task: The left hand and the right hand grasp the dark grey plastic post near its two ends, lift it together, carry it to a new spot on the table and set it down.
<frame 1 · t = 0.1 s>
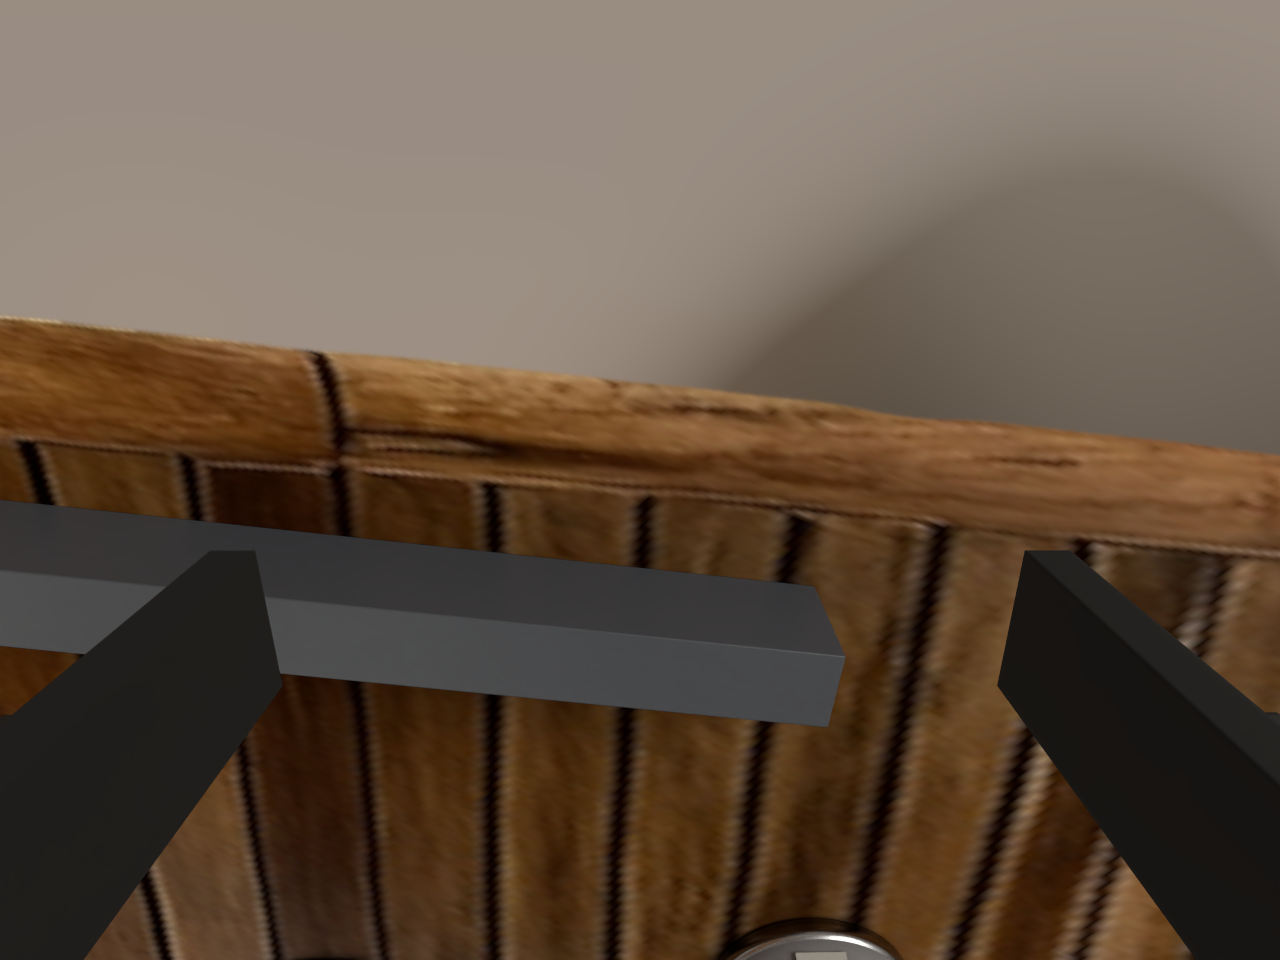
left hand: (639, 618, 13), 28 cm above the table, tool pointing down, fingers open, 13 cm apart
post: (141, 548, 43), on the table
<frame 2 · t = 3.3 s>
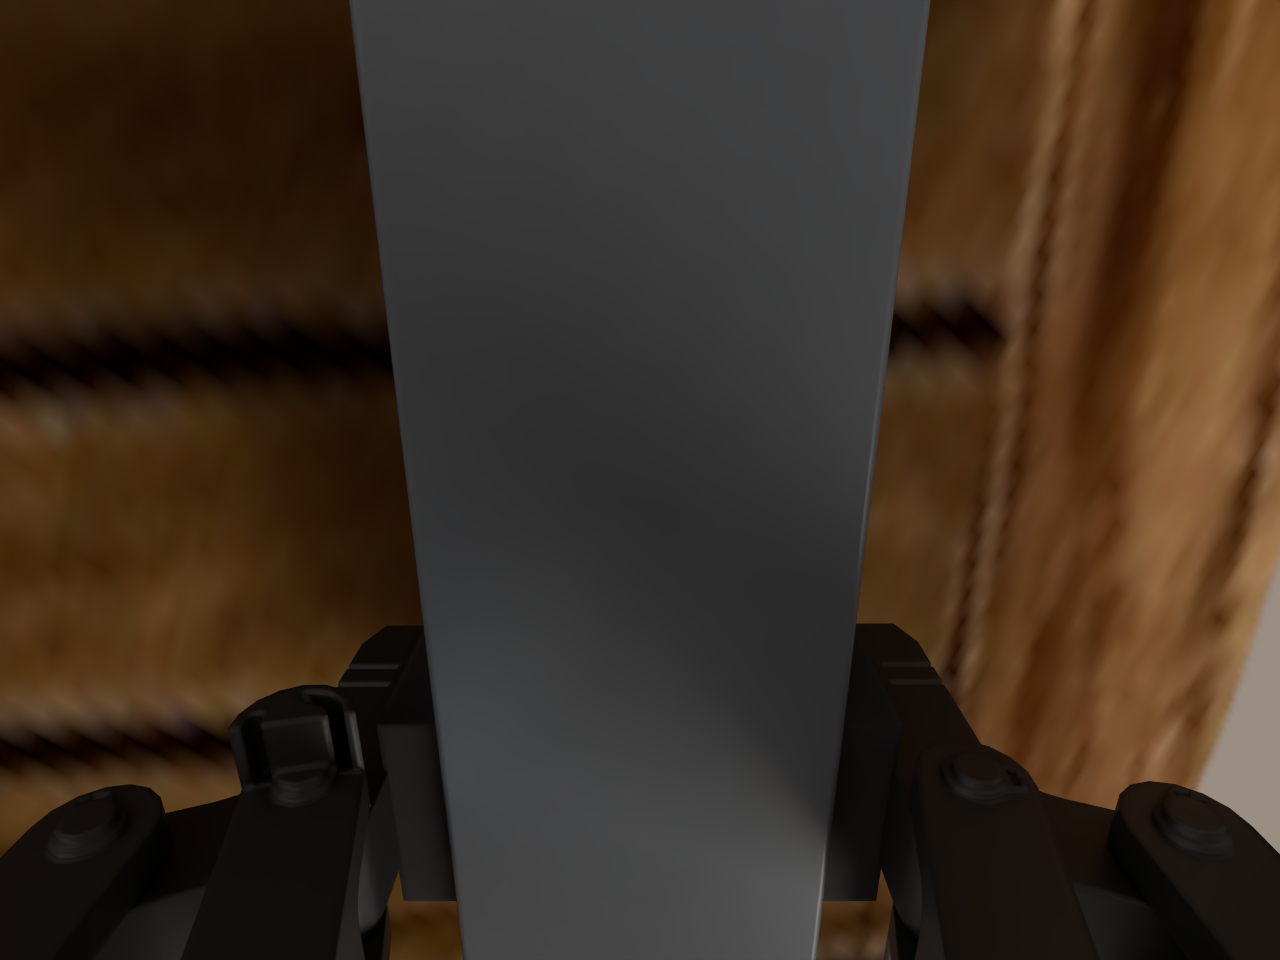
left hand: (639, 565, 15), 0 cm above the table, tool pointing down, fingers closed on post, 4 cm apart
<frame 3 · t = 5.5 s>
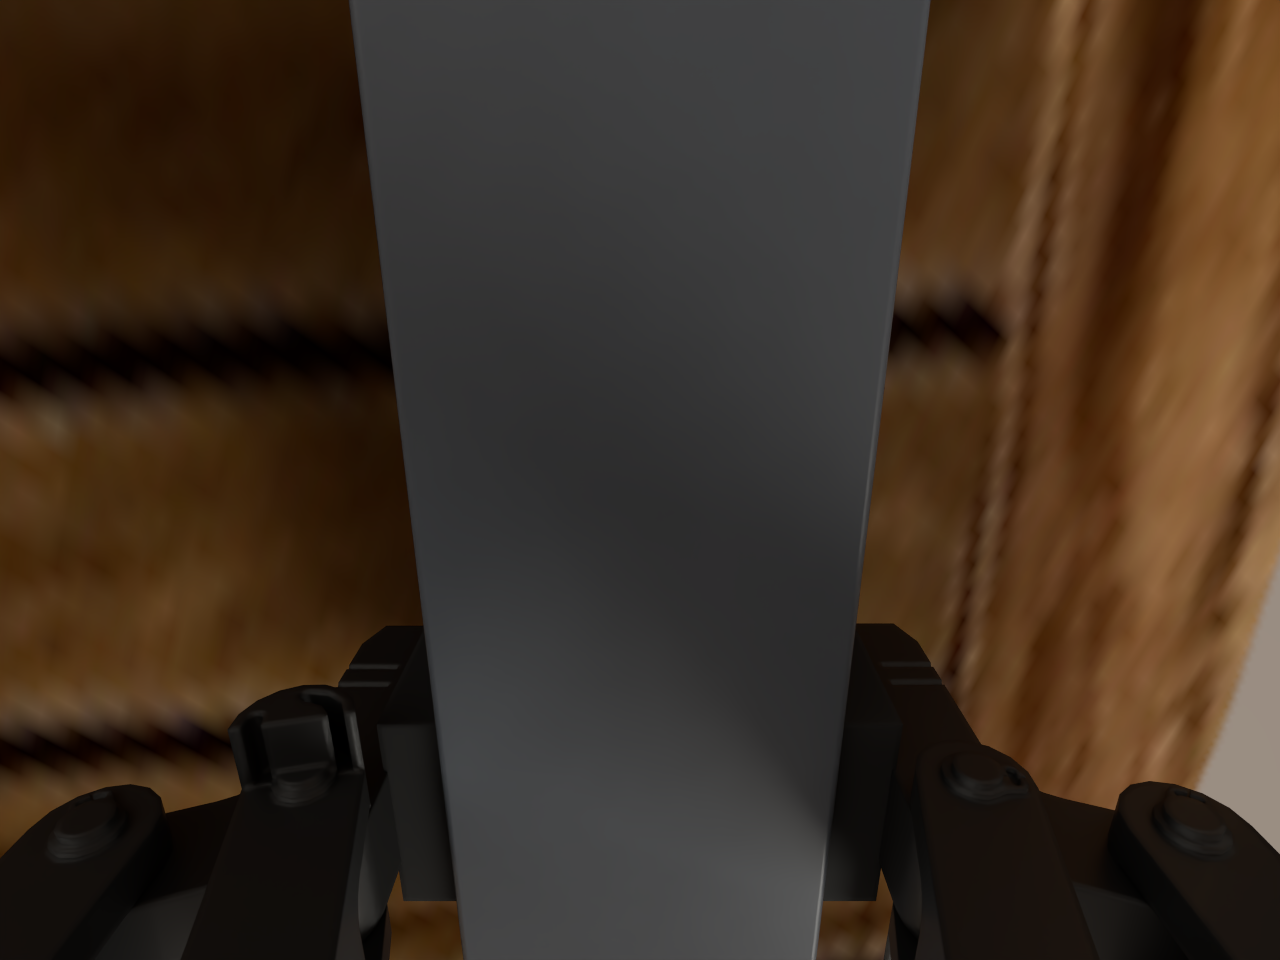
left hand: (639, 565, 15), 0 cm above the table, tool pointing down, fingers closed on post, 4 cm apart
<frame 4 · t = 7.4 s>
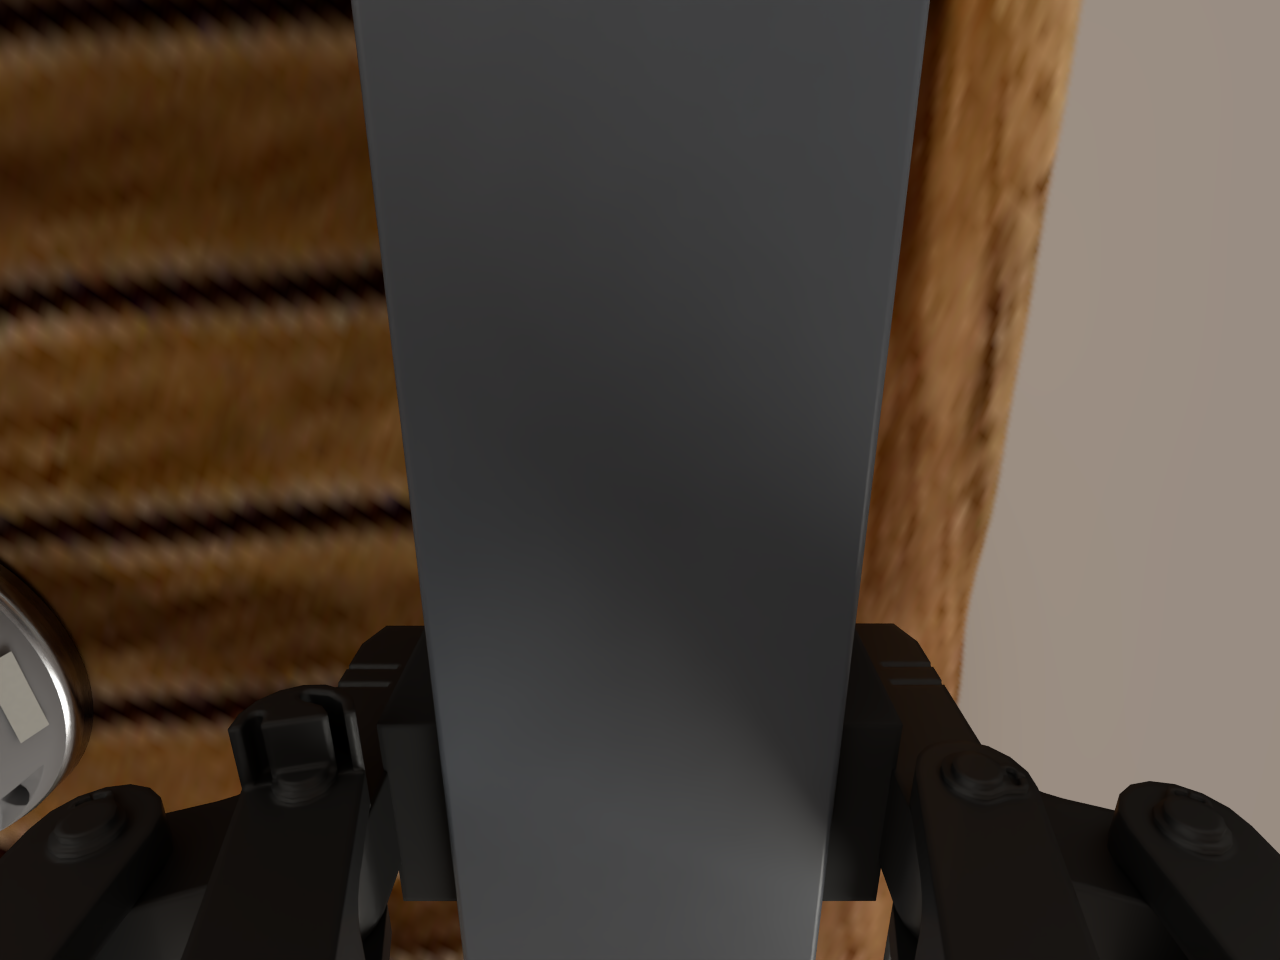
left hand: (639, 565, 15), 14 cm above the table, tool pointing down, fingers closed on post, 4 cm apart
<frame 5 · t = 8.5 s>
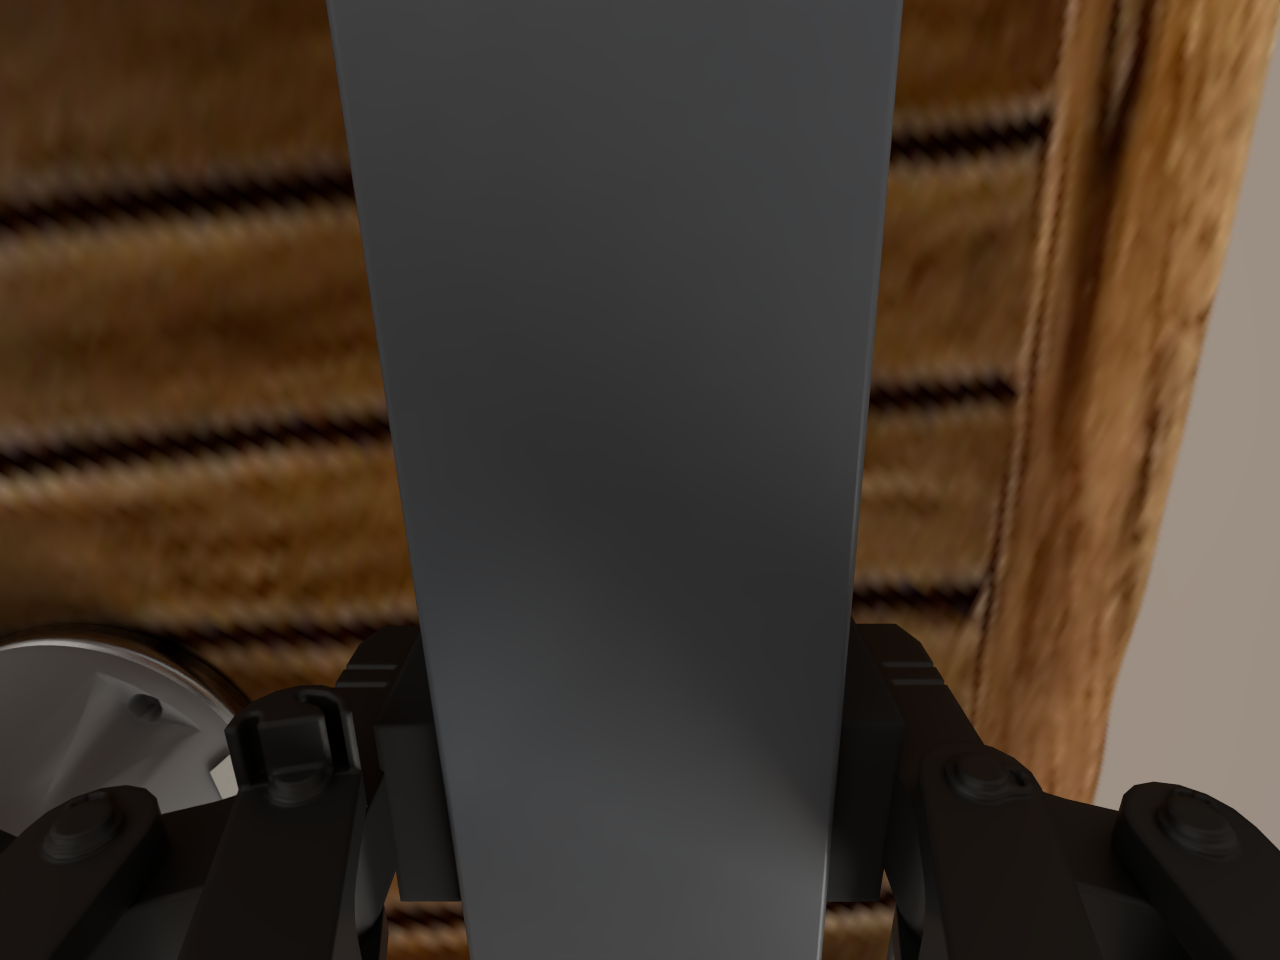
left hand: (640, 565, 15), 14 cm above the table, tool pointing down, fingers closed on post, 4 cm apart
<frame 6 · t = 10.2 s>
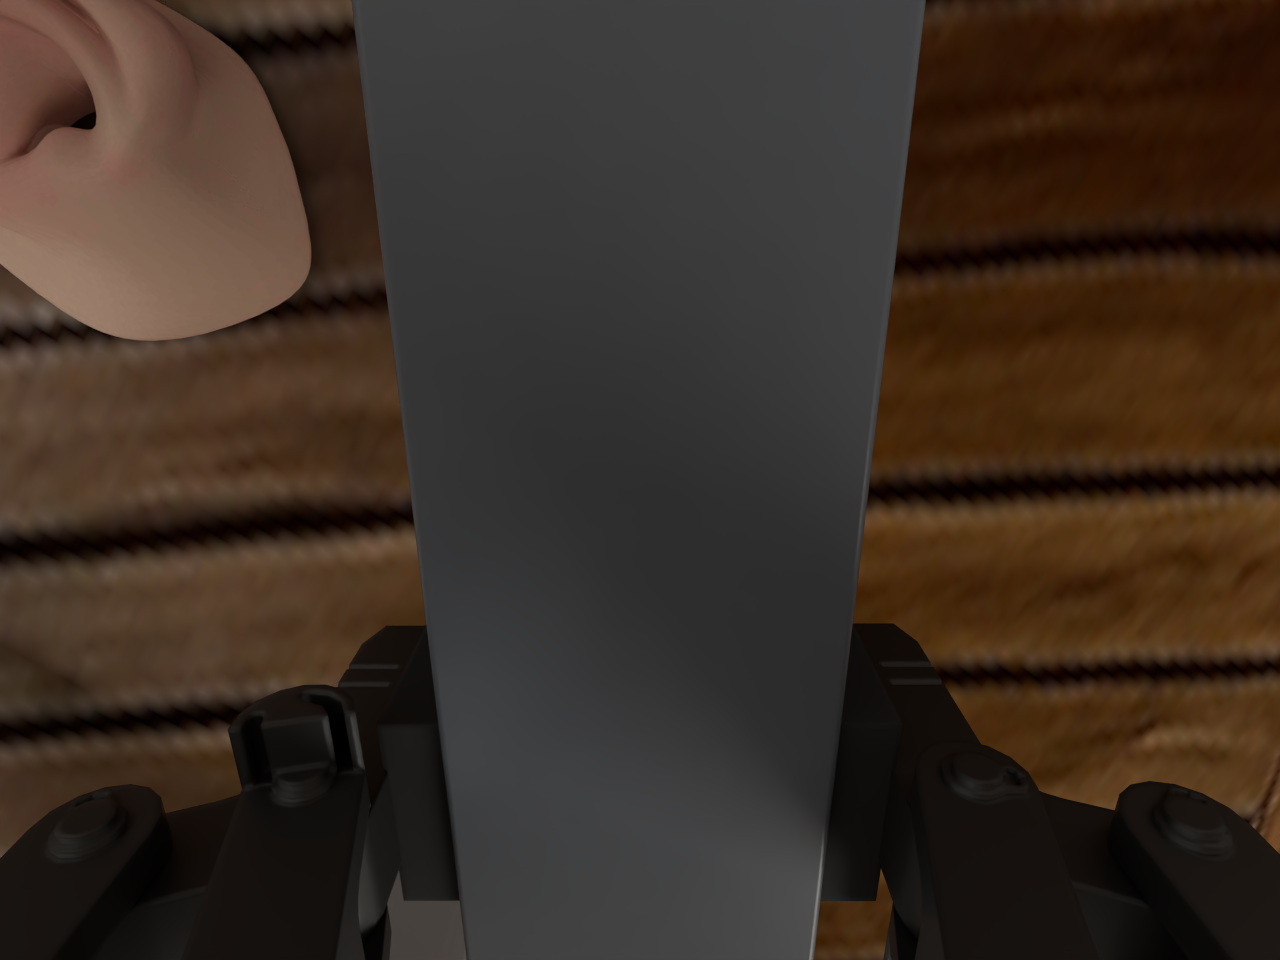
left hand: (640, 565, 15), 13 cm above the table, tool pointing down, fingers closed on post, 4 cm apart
anatomical model: (106, 155, 24), on the table
when the left hand's fingers open (2 cm above the table, at t = 11.5 s): post drops 1 cm, on the table.
when the right hand's fingers open (2 cm above the table, at t = 11.5 s): post drops 1 cm, on the table.
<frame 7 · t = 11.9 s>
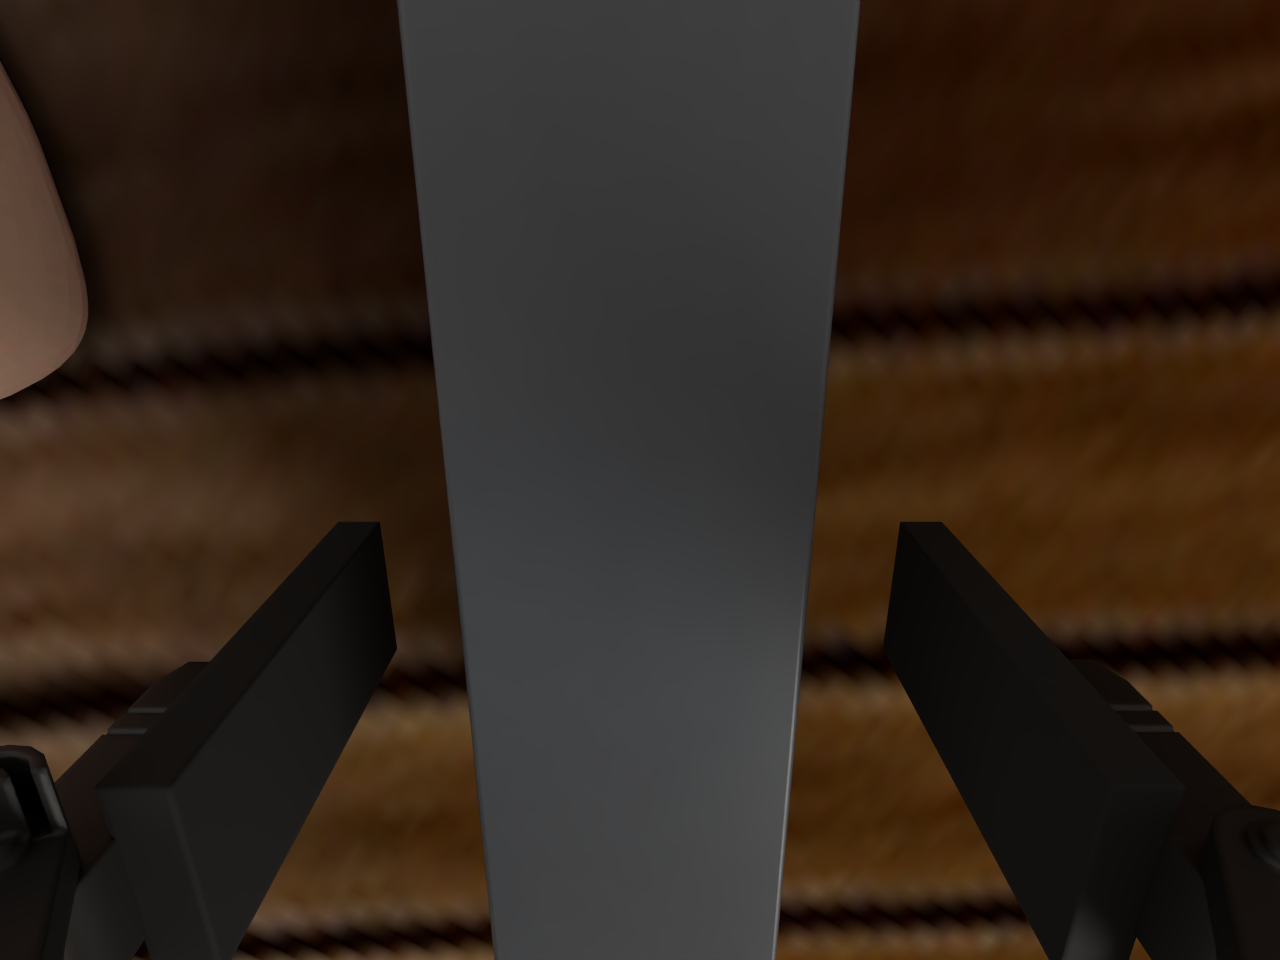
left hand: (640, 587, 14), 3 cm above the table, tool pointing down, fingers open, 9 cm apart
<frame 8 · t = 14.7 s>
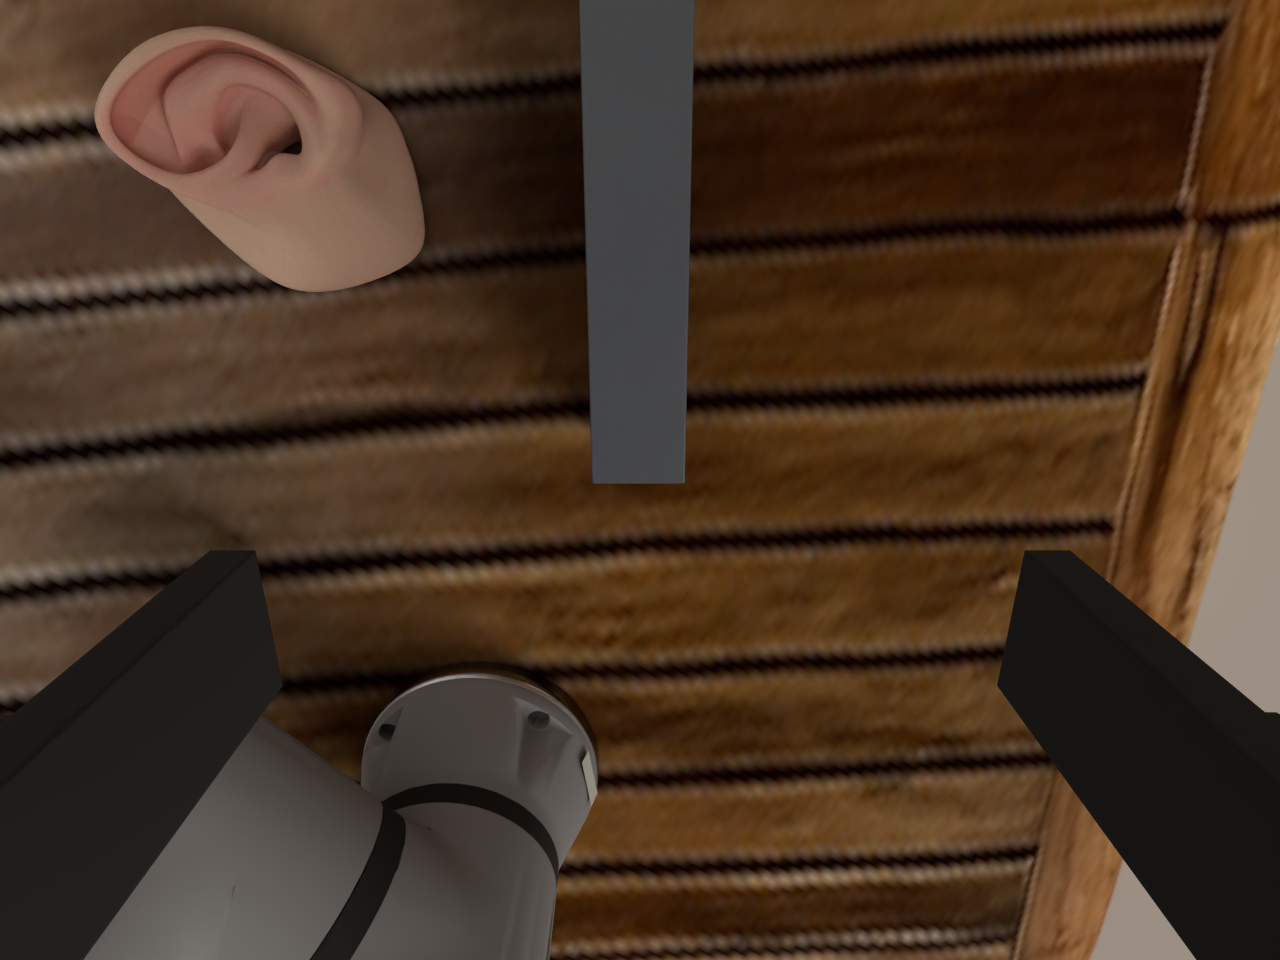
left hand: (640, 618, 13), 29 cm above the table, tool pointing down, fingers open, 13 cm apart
anatomical model: (294, 169, 37), on the table
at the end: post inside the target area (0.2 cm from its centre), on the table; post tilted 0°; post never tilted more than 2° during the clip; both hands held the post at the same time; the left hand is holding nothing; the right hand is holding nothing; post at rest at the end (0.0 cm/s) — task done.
